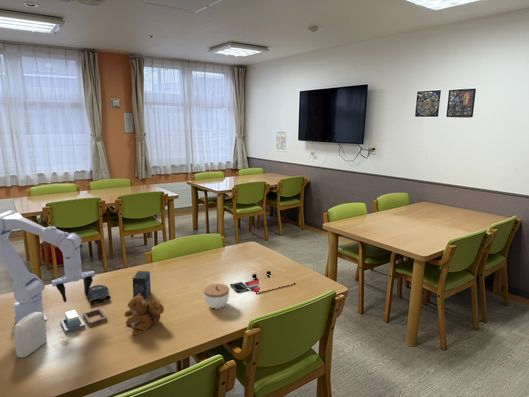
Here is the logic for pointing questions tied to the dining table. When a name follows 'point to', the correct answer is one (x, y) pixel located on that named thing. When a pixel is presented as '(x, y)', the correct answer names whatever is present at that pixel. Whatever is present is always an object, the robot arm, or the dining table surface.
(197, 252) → the dining table surface
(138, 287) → the box
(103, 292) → the electronic device
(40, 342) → the photo printer
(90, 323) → the brown square frame
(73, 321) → the plug
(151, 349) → the dining table surface
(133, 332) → the stuffed squirrel
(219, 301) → the lidded jar
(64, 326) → the gray square tray
